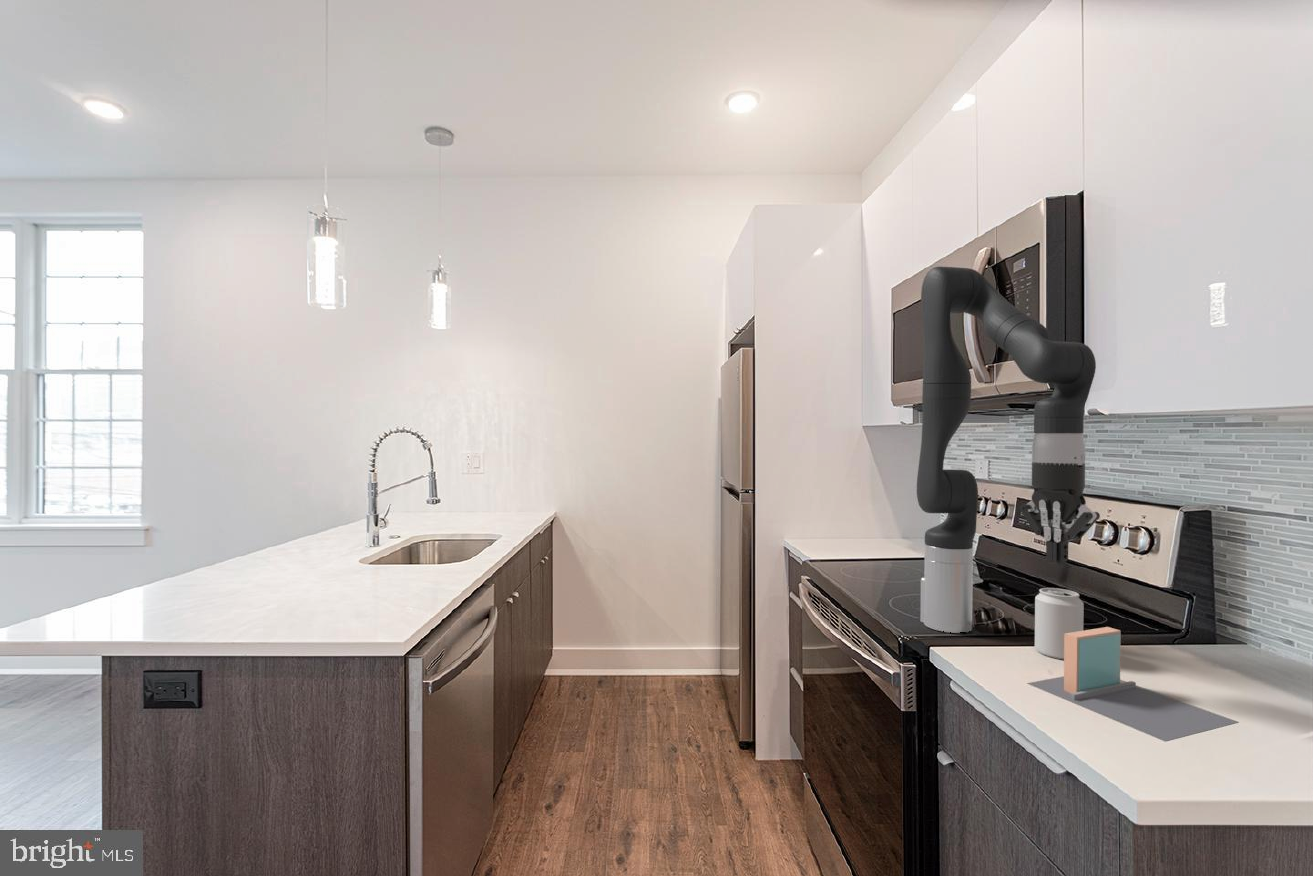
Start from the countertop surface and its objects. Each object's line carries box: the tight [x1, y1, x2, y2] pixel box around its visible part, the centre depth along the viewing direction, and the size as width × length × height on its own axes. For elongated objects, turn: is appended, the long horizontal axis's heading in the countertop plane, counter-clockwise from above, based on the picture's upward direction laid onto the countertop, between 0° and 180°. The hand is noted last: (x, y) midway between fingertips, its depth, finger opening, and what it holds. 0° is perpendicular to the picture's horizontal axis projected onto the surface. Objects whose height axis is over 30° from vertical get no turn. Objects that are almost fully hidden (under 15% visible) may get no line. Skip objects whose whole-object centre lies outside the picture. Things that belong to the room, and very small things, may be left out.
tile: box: [1063, 626, 1122, 693], centre depth 98 cm, size 2×10×9 cm, turn 110°
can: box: [1034, 587, 1085, 661], centre depth 114 cm, size 8×8×12 cm
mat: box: [1026, 675, 1239, 742], centre depth 94 cm, size 20×16×1 cm
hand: (1057, 563), depth 104 cm, fingers closed
